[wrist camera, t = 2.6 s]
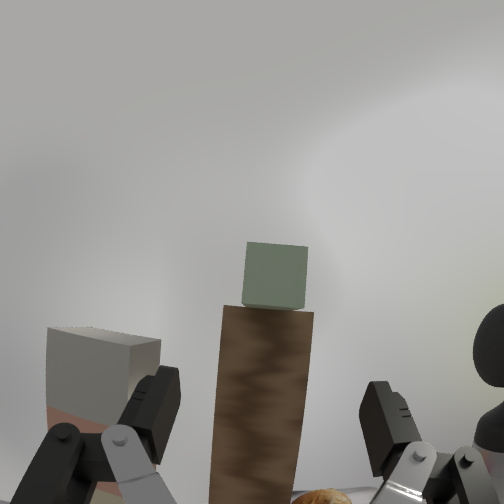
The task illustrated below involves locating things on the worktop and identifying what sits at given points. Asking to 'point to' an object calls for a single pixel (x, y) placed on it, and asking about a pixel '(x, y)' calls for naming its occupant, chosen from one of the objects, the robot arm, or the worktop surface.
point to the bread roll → (323, 497)
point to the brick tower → (95, 382)
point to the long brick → (275, 276)
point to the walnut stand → (259, 404)
